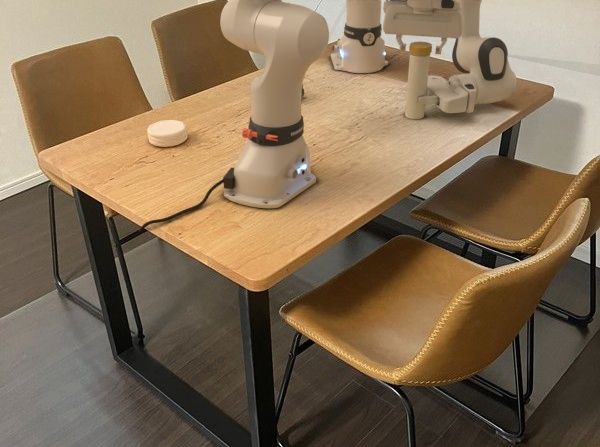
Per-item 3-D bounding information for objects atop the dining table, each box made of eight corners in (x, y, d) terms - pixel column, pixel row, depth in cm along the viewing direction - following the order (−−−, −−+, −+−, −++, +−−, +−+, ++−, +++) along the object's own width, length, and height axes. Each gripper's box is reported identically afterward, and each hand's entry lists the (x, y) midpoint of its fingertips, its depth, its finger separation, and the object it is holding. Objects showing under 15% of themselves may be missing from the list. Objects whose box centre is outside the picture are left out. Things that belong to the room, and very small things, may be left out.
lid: (405, 53, 162) (406, 45, 161) (414, 47, 167) (415, 40, 166) (426, 56, 160) (426, 49, 159) (434, 50, 164) (435, 43, 163)
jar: (413, 110, 176) (418, 43, 166) (428, 115, 173) (434, 47, 162) (401, 115, 173) (406, 47, 163) (416, 120, 170) (422, 51, 159)
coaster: (150, 132, 165) (149, 120, 163) (188, 130, 166) (187, 118, 164) (146, 148, 157) (144, 135, 155) (186, 146, 157) (185, 133, 155)
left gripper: (382, -2, 156) (379, 53, 163) (465, 2, 151) (458, 58, 158) (386, -7, 161) (383, 46, 168) (466, -3, 156) (460, 51, 163)
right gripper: (444, 68, 179) (399, 72, 176) (479, 92, 162) (430, 97, 159) (441, 89, 182) (398, 94, 180) (475, 114, 166) (427, 120, 163)
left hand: (420, 52), depth 163 cm, fingers open, 8 cm apart
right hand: (413, 96), depth 169 cm, fingers closed on jar, 5 cm apart
